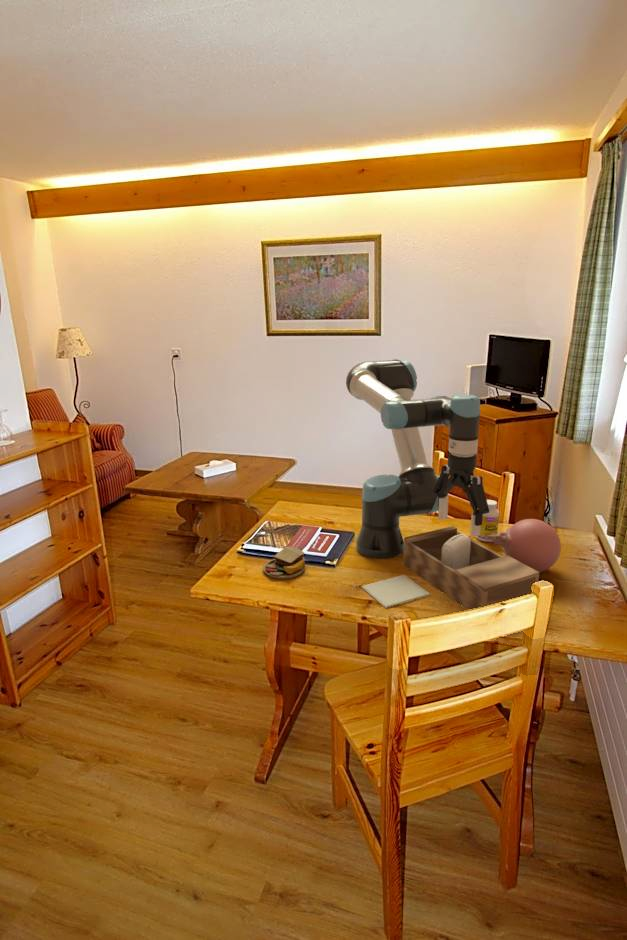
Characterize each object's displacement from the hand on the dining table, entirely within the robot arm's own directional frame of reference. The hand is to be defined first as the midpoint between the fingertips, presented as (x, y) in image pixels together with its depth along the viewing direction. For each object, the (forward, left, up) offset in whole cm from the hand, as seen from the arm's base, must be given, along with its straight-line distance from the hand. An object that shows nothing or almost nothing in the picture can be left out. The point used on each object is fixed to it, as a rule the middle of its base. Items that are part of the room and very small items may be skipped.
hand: (458, 527), depth 156 cm
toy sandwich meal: (-28, -41, -16) cm, 52 cm away
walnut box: (+4, 0, -15) cm, 16 cm away
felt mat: (-1, -20, -15) cm, 25 cm away
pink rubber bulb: (+5, +20, -16) cm, 26 cm away
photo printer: (0, 0, -16) cm, 16 cm away
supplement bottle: (-16, +26, -16) cm, 34 cm away
